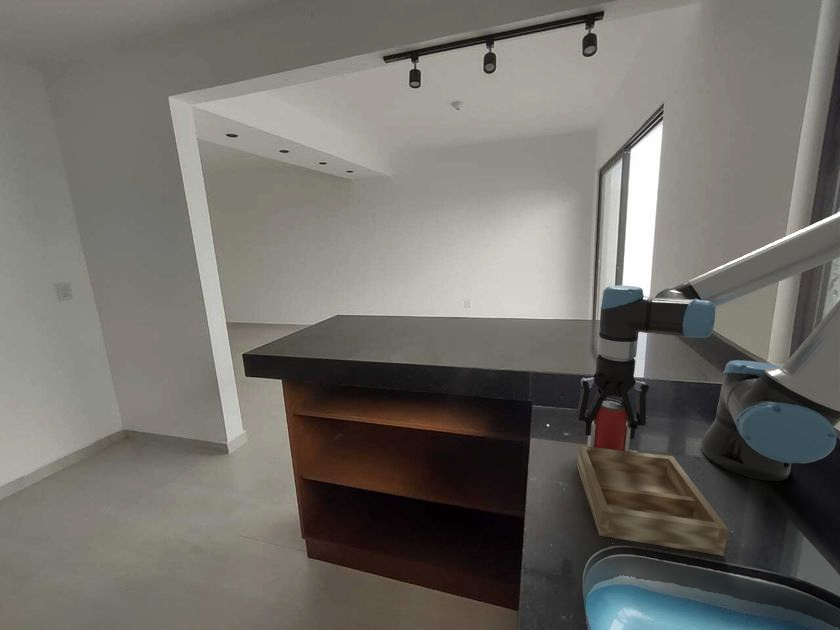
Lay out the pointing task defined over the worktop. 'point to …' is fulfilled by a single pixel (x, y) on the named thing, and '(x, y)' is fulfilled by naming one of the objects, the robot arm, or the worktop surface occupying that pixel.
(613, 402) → the beer can
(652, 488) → the crate
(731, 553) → the worktop surface
